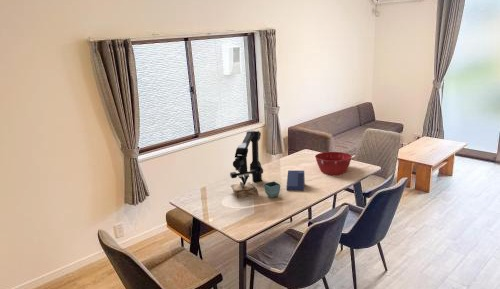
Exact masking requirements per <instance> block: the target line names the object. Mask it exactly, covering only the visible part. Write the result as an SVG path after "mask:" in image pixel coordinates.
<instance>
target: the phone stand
mask: <svg viewBox="0 0 500 289" xmlns="http://www.w3.org/2000/svg"><path fill="white" fill-rule="evenodd" d="M305 178H306V177H305V170H287V178H286V191H299V192H301V191H302V192H304V191H305V184H306V183H305V182H306V180H305Z"/></svg>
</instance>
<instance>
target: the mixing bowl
mask: <svg viewBox="0 0 500 289" xmlns="http://www.w3.org/2000/svg"><path fill="white" fill-rule="evenodd" d="M314 157H315V160H316V163H317V164H316V165H317V166H318V168H319V170H320V172H321V173H322V174H324V175H327V174H328V176H340V174H341V175H342V174H343V173H344V174H345V173H346V172H347V170H348V169H349V166H350V164H351V160H352V157H353V156H352V155H351V154H350V153H346V152H341V151H326V152H321V153H317V154H316V155H315V156H314Z"/></svg>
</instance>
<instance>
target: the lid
mask: <svg viewBox="0 0 500 289" xmlns="http://www.w3.org/2000/svg"><path fill="white" fill-rule="evenodd" d="M230 187H231V189H232V190H234V192H235V191H245V190H249V189H254V187H253V186H252V183H251V182H249V181H248V182H246V184H245V185H244V184H243V182H242V181H239V183H236V184H230ZM234 192H233V193H234Z"/></svg>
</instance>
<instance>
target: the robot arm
mask: <svg viewBox="0 0 500 289" xmlns="http://www.w3.org/2000/svg"><path fill="white" fill-rule="evenodd" d="M261 136H262V135H261V131H260V130H248V131H246V134H245V136H244V139H243V141H242V142H241V143H240V144H239V145H238V146H237V148H236V149H235V154H234V161H233V162H232V166H233V168H235V171H232V172H229V176H230V179H237V177H238V178H239V179H241V182H242V183H243V184H244V185H245V184H246V183H247V181H248V179H249V178H250V175H251V176H252V177H251V178H252V181H253V182H254V183H259V182H263V178H262V177H263V176H262V174H264V168H263V167H262V163H261V162H260V161H259V157H260V156H259V142H260V139H261ZM250 143H251V153H252V154H251V158H252V160H251V163H250V164H249V171H248V160H247V157H248V153H249V148H248V147H249V145H250Z"/></svg>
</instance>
